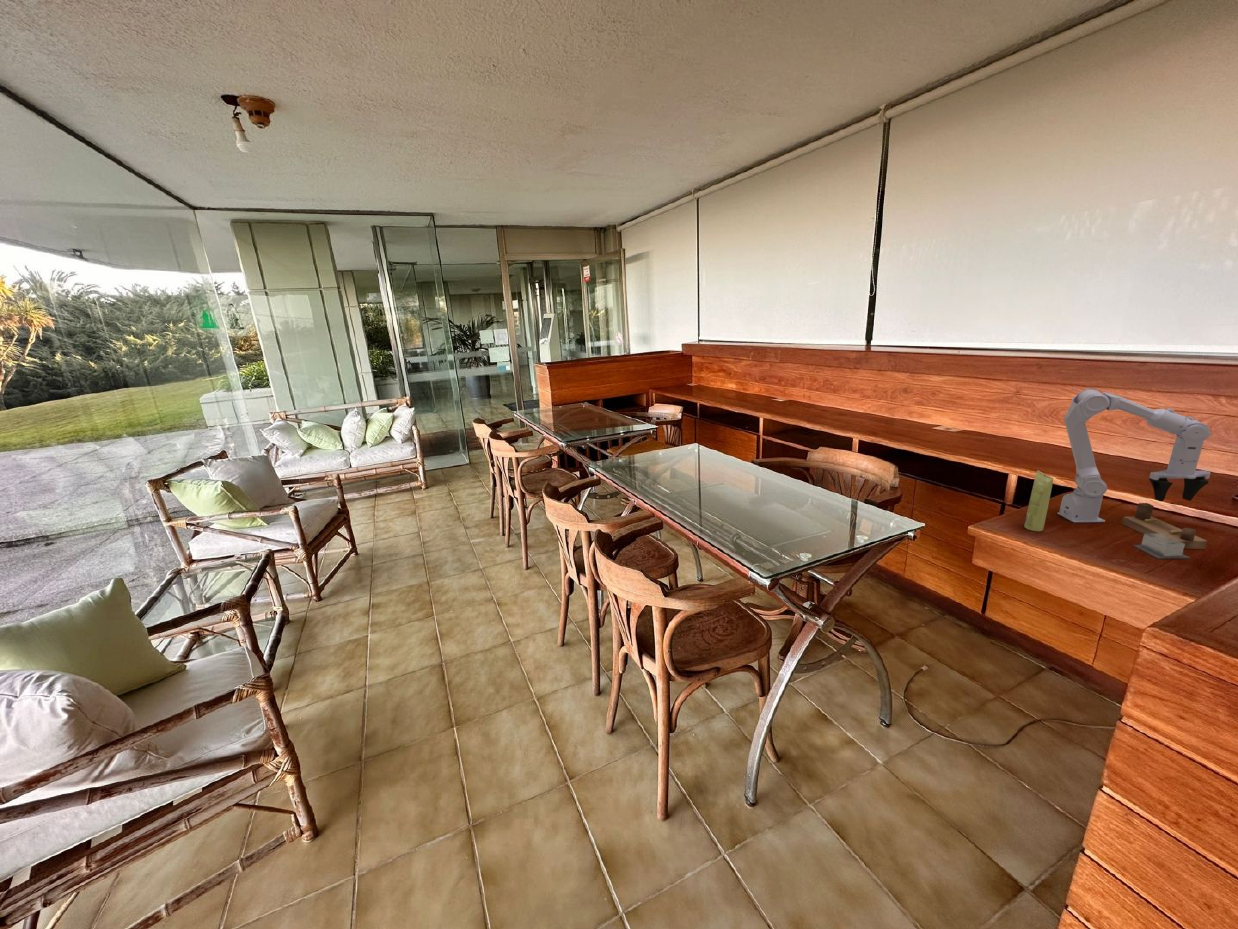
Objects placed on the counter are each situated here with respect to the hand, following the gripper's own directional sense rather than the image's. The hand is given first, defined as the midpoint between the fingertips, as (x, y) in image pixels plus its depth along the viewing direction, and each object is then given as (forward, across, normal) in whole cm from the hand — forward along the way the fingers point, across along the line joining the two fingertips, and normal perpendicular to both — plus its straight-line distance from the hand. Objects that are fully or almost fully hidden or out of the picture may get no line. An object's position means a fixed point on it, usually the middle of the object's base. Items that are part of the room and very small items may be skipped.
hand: (1172, 499), depth 152 cm
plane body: (+9, -6, -6) cm, 13 cm away
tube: (+10, -38, 0) cm, 39 cm away
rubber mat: (+9, -15, -17) cm, 25 cm away
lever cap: (+9, -15, -17) cm, 24 cm away
